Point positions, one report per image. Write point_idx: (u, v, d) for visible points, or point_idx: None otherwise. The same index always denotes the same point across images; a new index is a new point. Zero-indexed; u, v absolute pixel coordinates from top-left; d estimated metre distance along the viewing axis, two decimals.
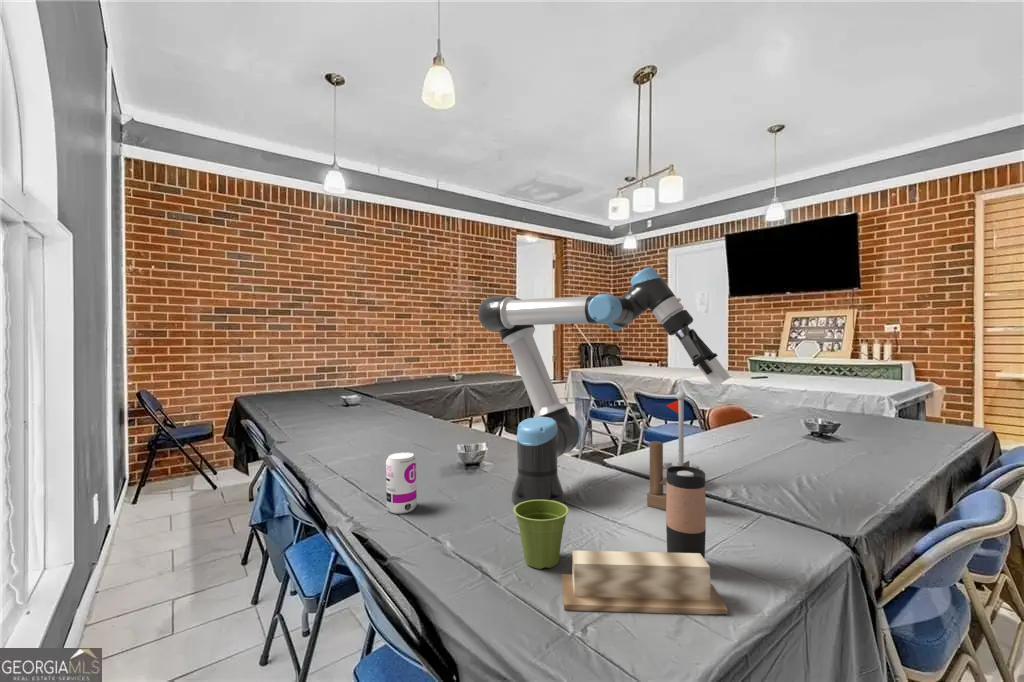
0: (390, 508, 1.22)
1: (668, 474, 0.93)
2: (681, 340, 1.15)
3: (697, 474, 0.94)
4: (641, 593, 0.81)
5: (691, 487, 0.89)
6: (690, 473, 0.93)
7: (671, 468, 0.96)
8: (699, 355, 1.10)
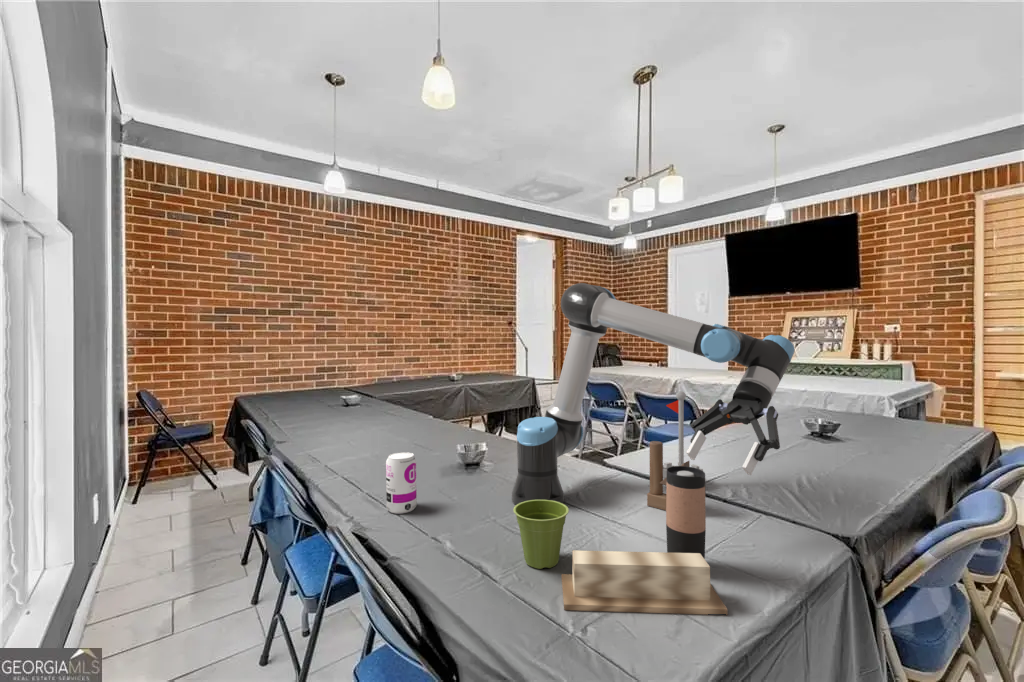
0: (390, 508, 1.22)
1: (668, 474, 0.93)
2: (772, 416, 0.97)
3: (697, 474, 0.94)
4: (641, 593, 0.81)
5: (691, 487, 0.89)
6: (690, 473, 0.93)
7: (671, 468, 0.96)
8: (779, 445, 0.94)
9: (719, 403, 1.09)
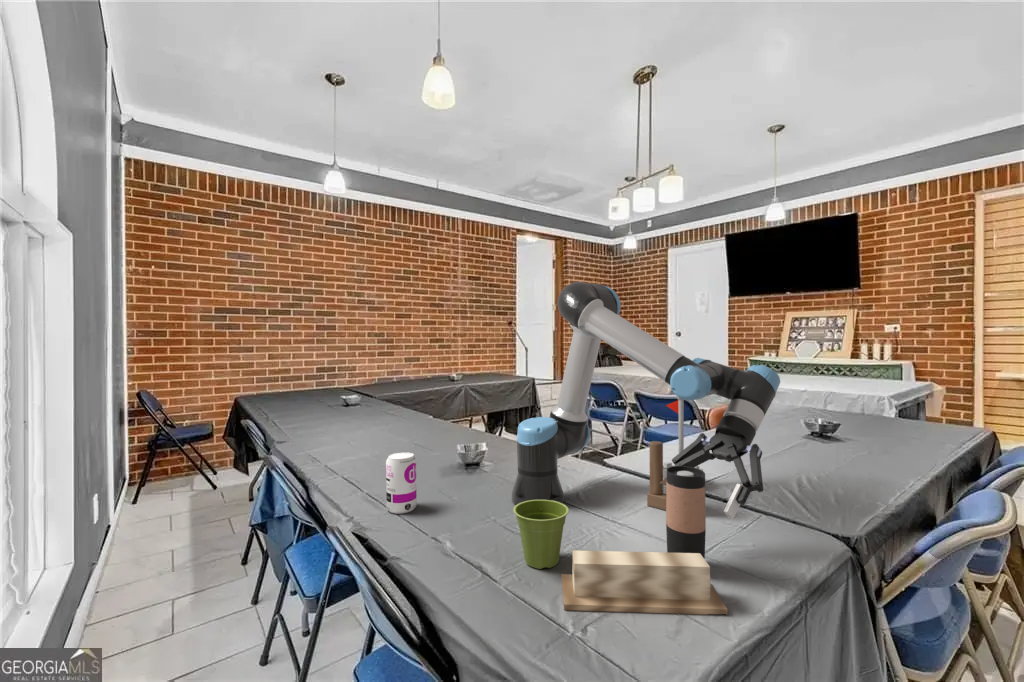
0: (390, 508, 1.22)
1: (668, 474, 0.93)
2: (756, 455, 0.92)
3: (697, 474, 0.94)
4: (641, 593, 0.81)
5: (691, 487, 0.89)
6: (690, 473, 0.93)
7: (671, 468, 0.96)
8: (762, 487, 0.89)
9: (702, 437, 1.04)
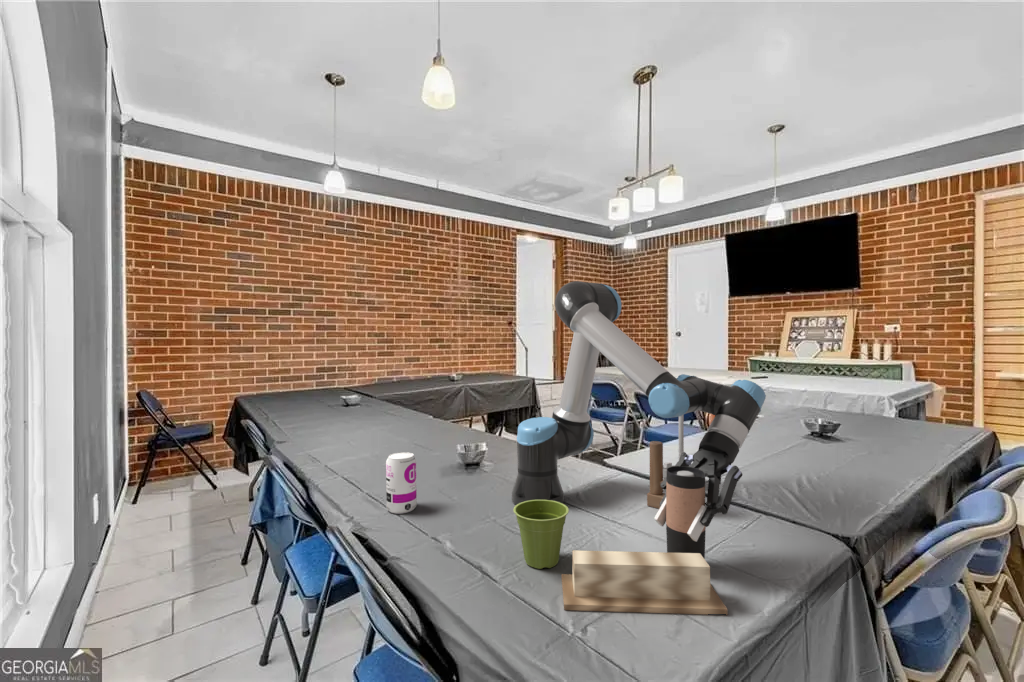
0: (390, 508, 1.22)
1: (668, 474, 0.93)
2: (732, 477, 0.91)
3: (697, 474, 0.94)
4: (641, 593, 0.81)
5: (691, 487, 0.89)
6: (690, 473, 0.93)
7: (671, 468, 0.96)
8: (726, 510, 0.88)
9: (684, 456, 1.02)
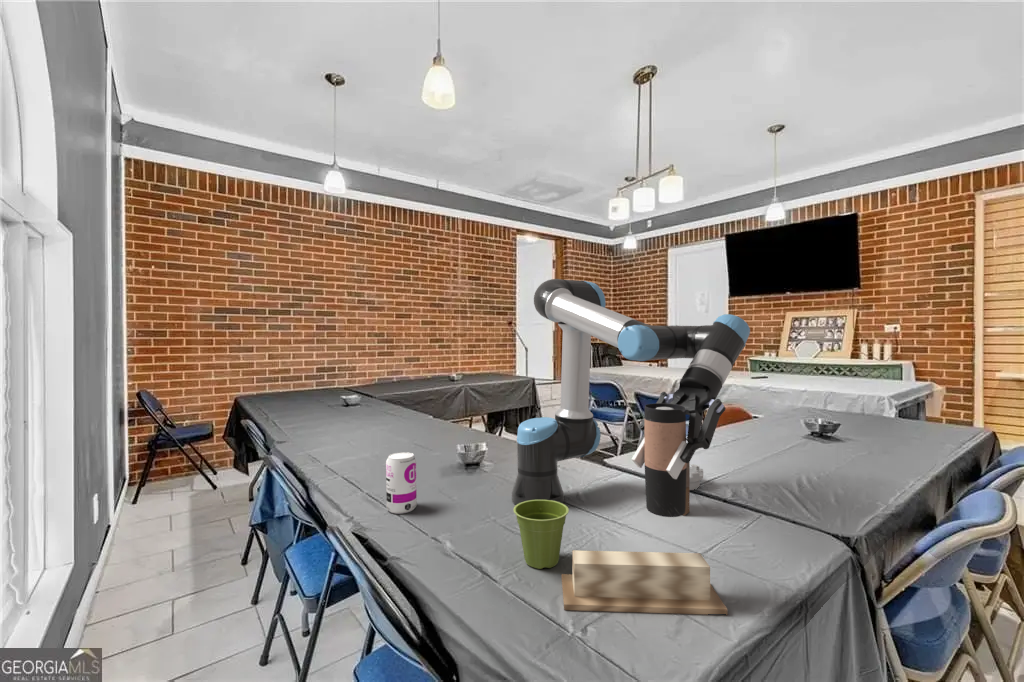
0: (390, 508, 1.22)
1: (646, 410, 0.86)
2: (714, 411, 0.84)
3: (677, 410, 0.87)
4: (641, 593, 0.81)
5: (670, 421, 0.82)
6: (670, 408, 0.85)
7: (650, 405, 0.89)
8: (708, 445, 0.82)
9: (664, 395, 0.94)
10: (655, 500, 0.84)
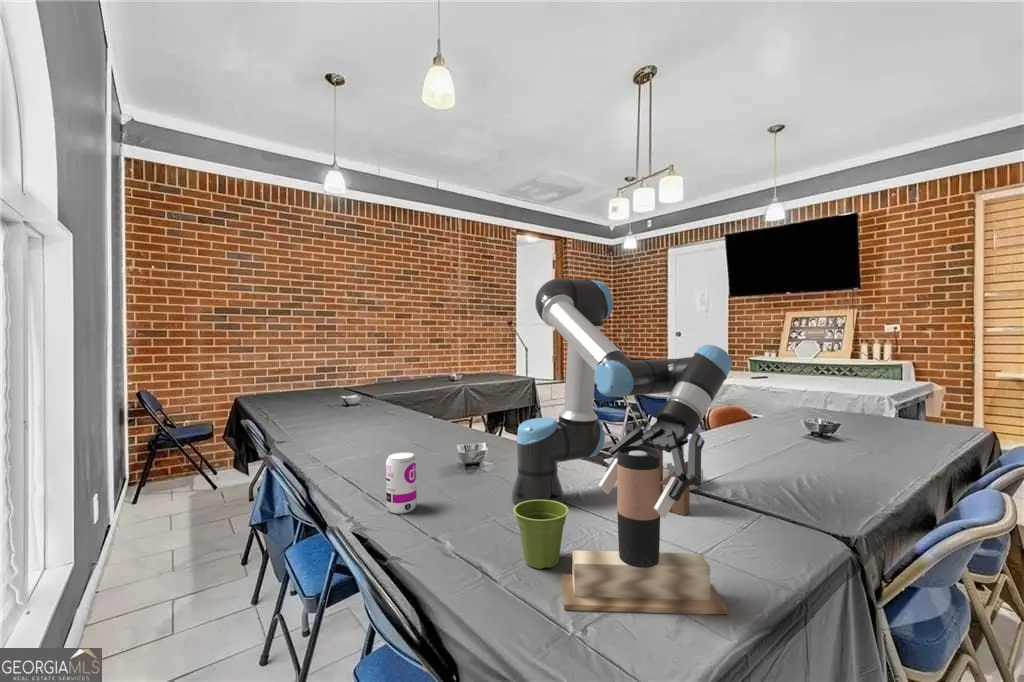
0: (390, 508, 1.22)
1: (618, 454, 0.82)
2: (696, 444, 0.80)
3: (651, 454, 0.83)
4: (641, 593, 0.81)
5: (642, 467, 0.79)
6: (643, 453, 0.82)
7: (624, 448, 0.86)
8: (699, 481, 0.77)
9: (642, 425, 0.92)
10: (627, 549, 0.81)
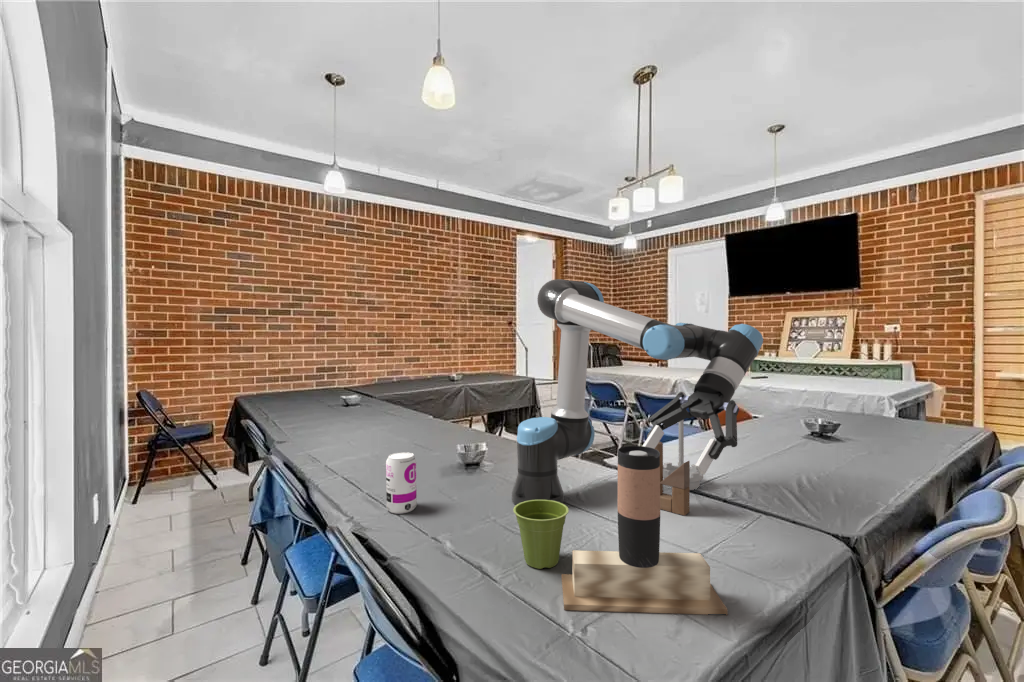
0: (390, 508, 1.22)
1: (619, 454, 0.82)
2: (732, 411, 0.90)
3: (652, 454, 0.83)
4: (641, 593, 0.81)
5: (643, 467, 0.79)
6: (643, 453, 0.82)
7: (624, 448, 0.86)
8: (736, 442, 0.86)
9: (680, 396, 1.01)
10: (627, 549, 0.81)
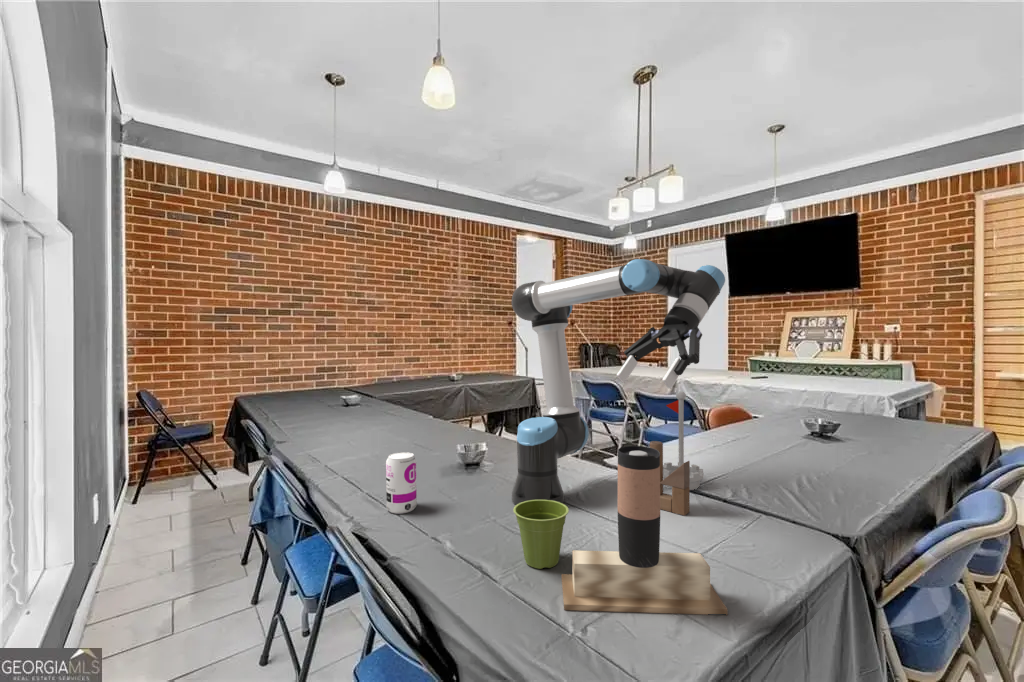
0: (390, 508, 1.22)
1: (619, 454, 0.82)
2: (695, 335, 1.01)
3: (652, 454, 0.83)
4: (641, 593, 0.81)
5: (643, 467, 0.79)
6: (643, 453, 0.82)
7: (624, 448, 0.86)
8: (698, 359, 0.97)
9: (652, 330, 1.12)
10: (627, 549, 0.81)
